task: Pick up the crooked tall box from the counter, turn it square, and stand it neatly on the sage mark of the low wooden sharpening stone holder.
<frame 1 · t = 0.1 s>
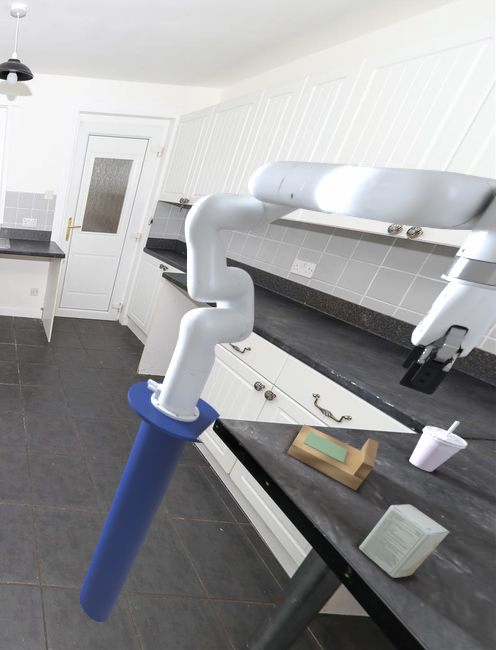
hand: (415, 379, 52), 33 cm above the table, tool pointing down, fingers open, 9 cm apart
box: (382, 561, 58), on the table
smoothie: (420, 465, 81), on the table
wooden sharpening stone holder: (324, 458, 80), on the table
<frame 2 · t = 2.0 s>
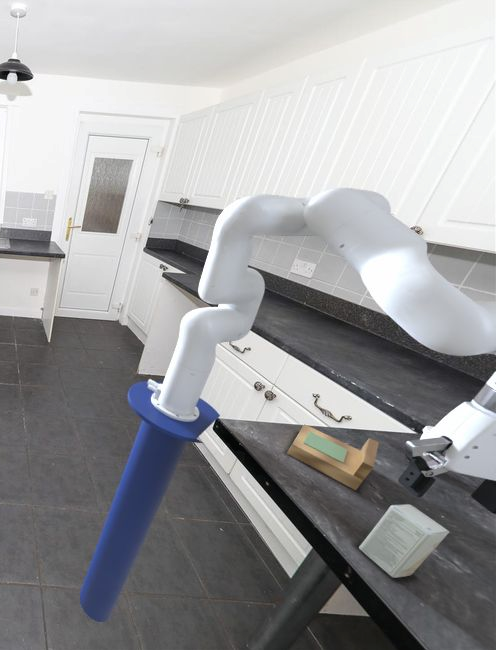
hand: (445, 497, 51), 17 cm above the table, tool pointing down, fingers open, 9 cm apart
nothing on the table moved.
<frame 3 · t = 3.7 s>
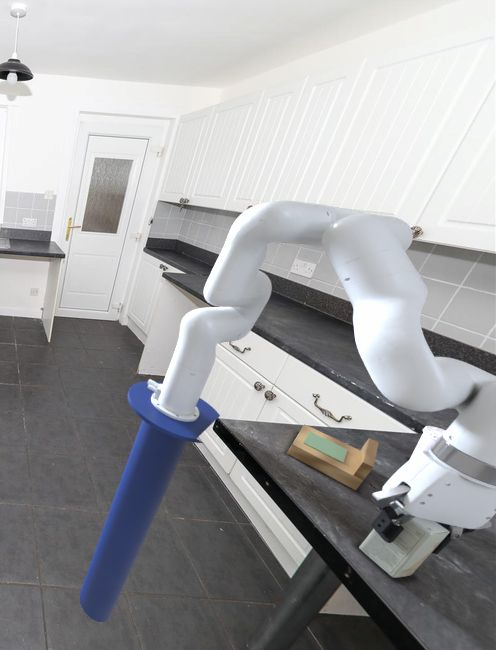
hand: (402, 538, 56), 6 cm above the table, tool pointing down, fingers closed on box, 5 cm apart
box: (382, 561, 58), on the table, touching gripper
everything else where it was.
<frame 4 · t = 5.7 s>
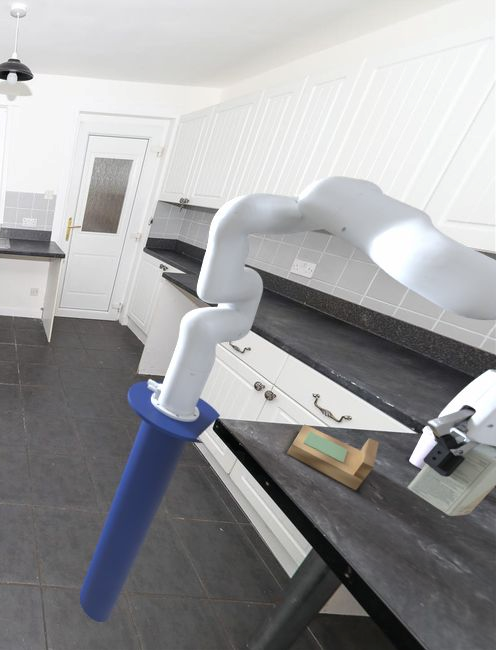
hand: (460, 473, 50), 21 cm above the table, tool pointing down, fingers closed on box, 5 cm apart
box: (434, 500, 52), point 15 cm above the table, touching gripper
everything else where it was.
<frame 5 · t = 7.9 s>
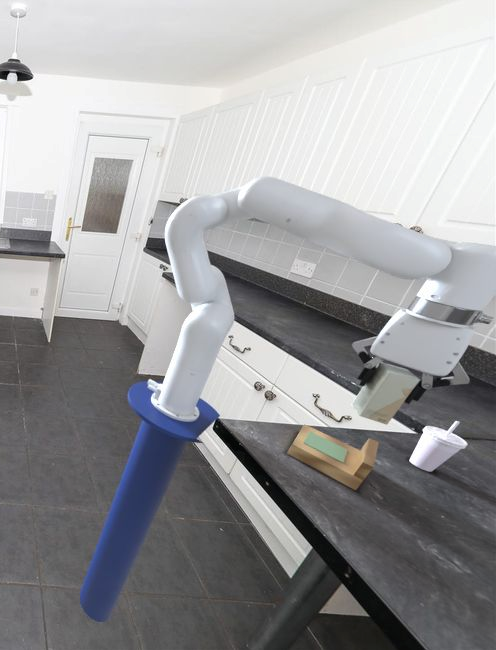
hand: (384, 391, 67), 23 cm above the table, tool pointing down, fingers closed on box, 5 cm apart
box: (367, 414, 70), point 17 cm above the table, touching gripper
everything else where it was.
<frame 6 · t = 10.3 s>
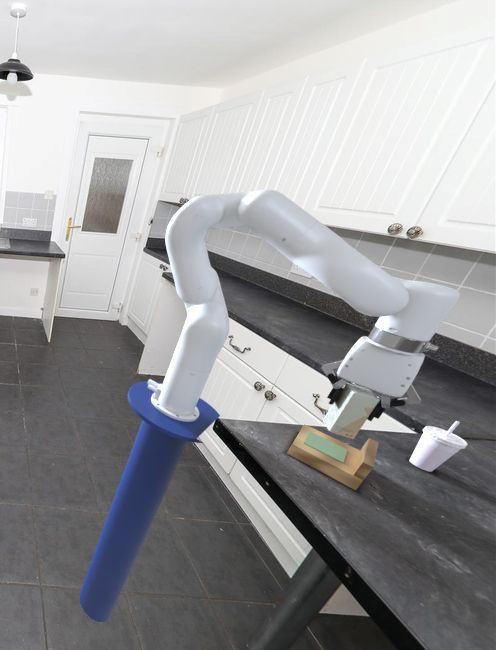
hand: (350, 409, 75), 14 cm above the table, tool pointing down, fingers closed on box, 5 cm apart
box: (336, 430, 78), point 8 cm above the table, touching gripper
everything else where it was.
when the fingers open (9 cm above the table, at t = 12.1 s): box stays where it is, resting on wooden sharpening stone holder.
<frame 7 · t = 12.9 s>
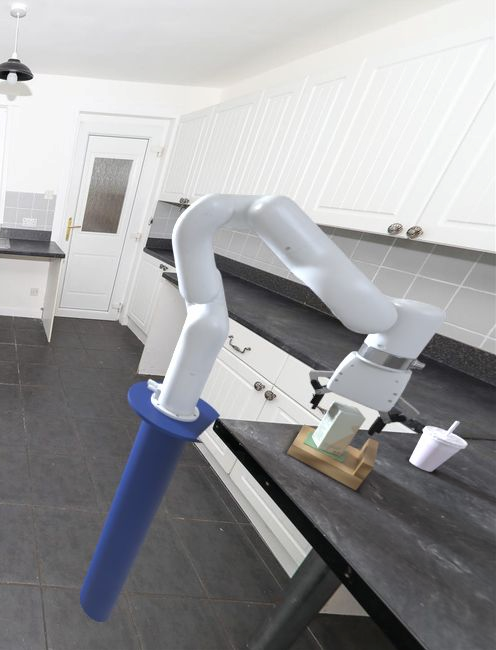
hand: (340, 419, 77), 11 cm above the table, tool pointing down, fingers open, 9 cm apart
box: (324, 446, 80), point 3 cm above the table, touching wooden sharpening stone holder
everything else where it was.
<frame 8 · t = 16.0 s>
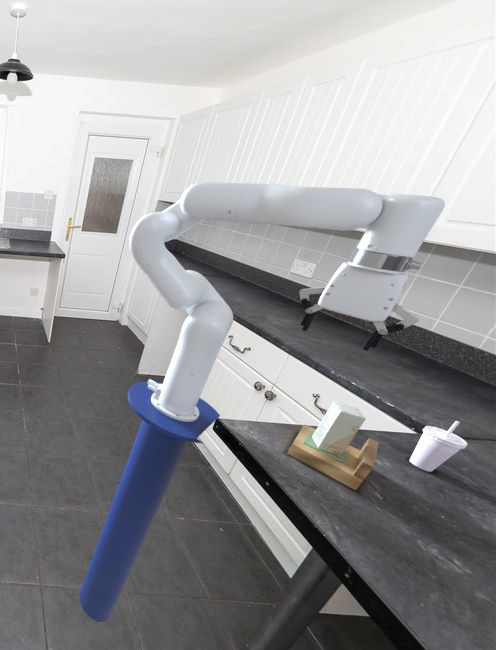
hand: (333, 338, 71), 30 cm above the table, tool pointing down, fingers open, 9 cm apart
nothing on the table moved.
at the end: box inside the target area on the wooden sharpening stone holder (0.1 cm from its centre), point 3.0 cm above the wooden sharpening stone holder's base; box tilted 0°; the gripper is holding nothing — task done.
